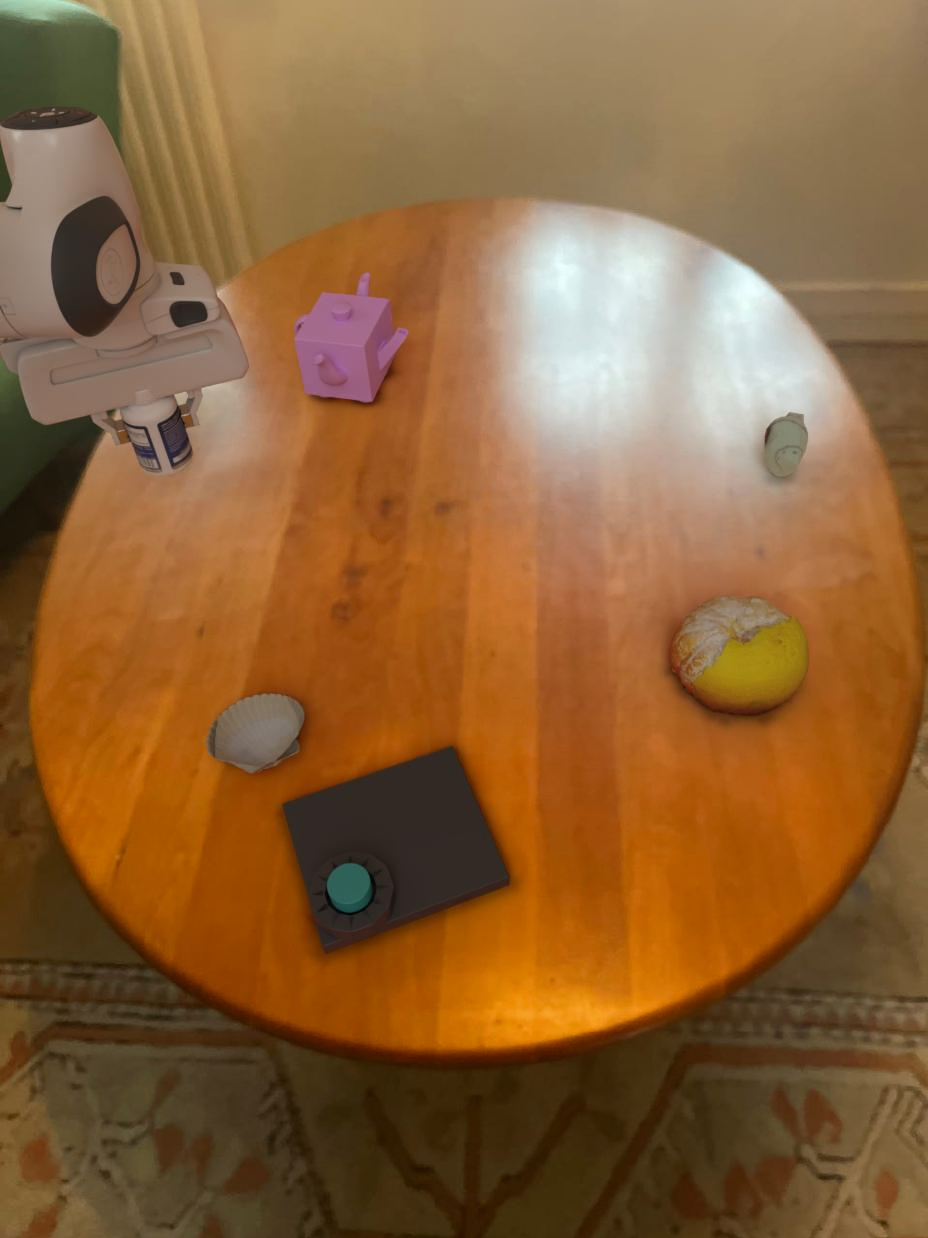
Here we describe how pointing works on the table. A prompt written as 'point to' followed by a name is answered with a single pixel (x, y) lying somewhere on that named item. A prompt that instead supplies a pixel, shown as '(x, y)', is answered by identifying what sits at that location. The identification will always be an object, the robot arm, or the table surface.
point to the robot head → (785, 443)
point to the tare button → (349, 887)
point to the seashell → (257, 732)
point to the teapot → (347, 344)
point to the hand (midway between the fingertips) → (157, 431)
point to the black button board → (395, 845)
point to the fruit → (740, 655)
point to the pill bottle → (157, 434)
